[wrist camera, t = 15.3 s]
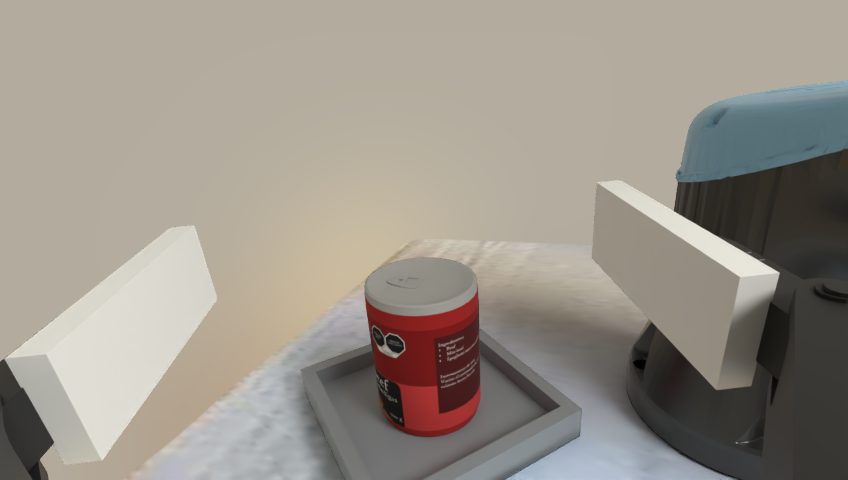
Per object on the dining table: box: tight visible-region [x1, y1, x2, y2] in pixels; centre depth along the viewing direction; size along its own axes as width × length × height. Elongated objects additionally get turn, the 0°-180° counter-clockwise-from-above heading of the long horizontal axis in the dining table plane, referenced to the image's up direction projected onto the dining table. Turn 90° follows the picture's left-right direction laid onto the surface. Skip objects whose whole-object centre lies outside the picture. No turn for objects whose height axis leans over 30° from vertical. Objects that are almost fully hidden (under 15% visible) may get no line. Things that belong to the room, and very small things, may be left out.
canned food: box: [365, 258, 481, 437], centre depth 33 cm, size 8×8×11 cm
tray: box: [301, 329, 582, 480], centre depth 35 cm, size 16×16×2 cm
